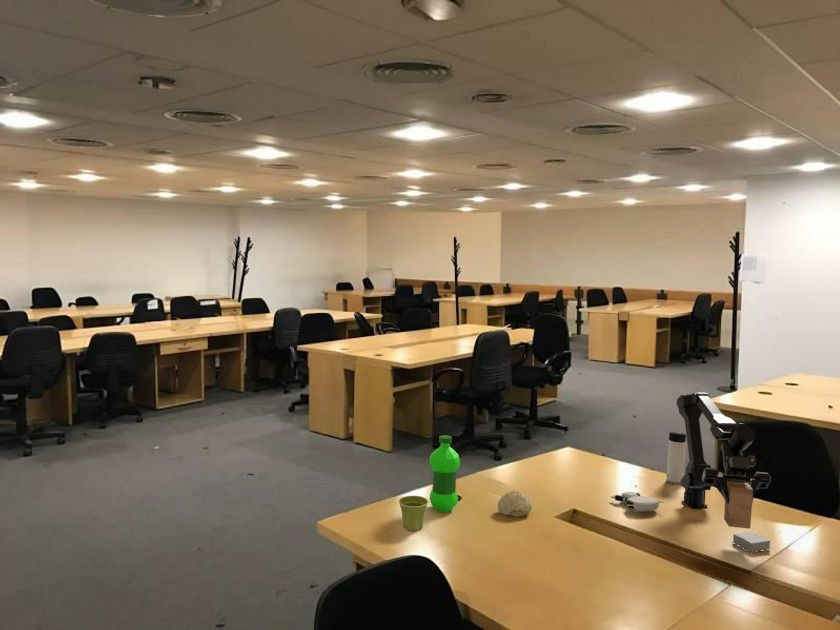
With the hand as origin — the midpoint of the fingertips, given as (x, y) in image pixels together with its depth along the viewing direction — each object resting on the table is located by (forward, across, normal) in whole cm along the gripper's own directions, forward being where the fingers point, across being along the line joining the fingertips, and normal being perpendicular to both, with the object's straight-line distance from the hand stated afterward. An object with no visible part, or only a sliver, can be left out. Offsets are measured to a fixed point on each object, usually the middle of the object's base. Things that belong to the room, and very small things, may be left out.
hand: (739, 504), depth 200 cm
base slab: (+8, +4, +11) cm, 14 cm away
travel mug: (-31, -9, +51) cm, 60 cm away
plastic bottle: (+5, -91, +14) cm, 92 cm away
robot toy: (-9, -26, +28) cm, 40 cm away
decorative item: (+3, -67, +17) cm, 69 cm away
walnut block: (+4, 0, +6) cm, 7 cm away
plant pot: (+18, -98, +2) cm, 99 cm away
